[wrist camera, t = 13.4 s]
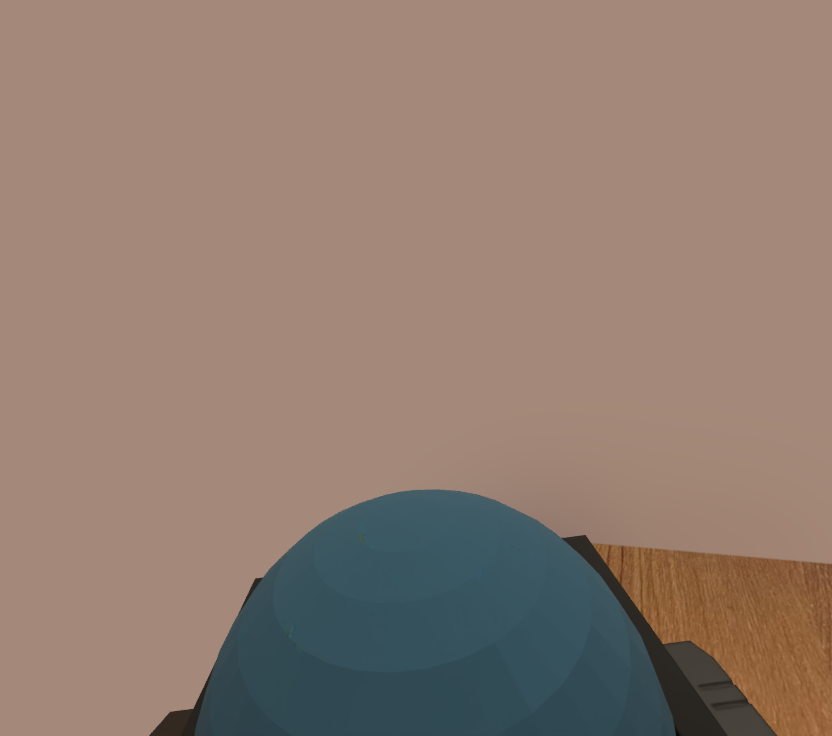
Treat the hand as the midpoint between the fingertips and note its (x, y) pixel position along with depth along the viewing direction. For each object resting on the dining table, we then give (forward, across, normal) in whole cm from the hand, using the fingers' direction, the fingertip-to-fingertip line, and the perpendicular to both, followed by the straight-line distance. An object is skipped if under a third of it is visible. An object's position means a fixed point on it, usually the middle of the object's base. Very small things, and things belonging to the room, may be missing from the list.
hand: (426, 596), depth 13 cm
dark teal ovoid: (-5, 0, -7) cm, 8 cm away
